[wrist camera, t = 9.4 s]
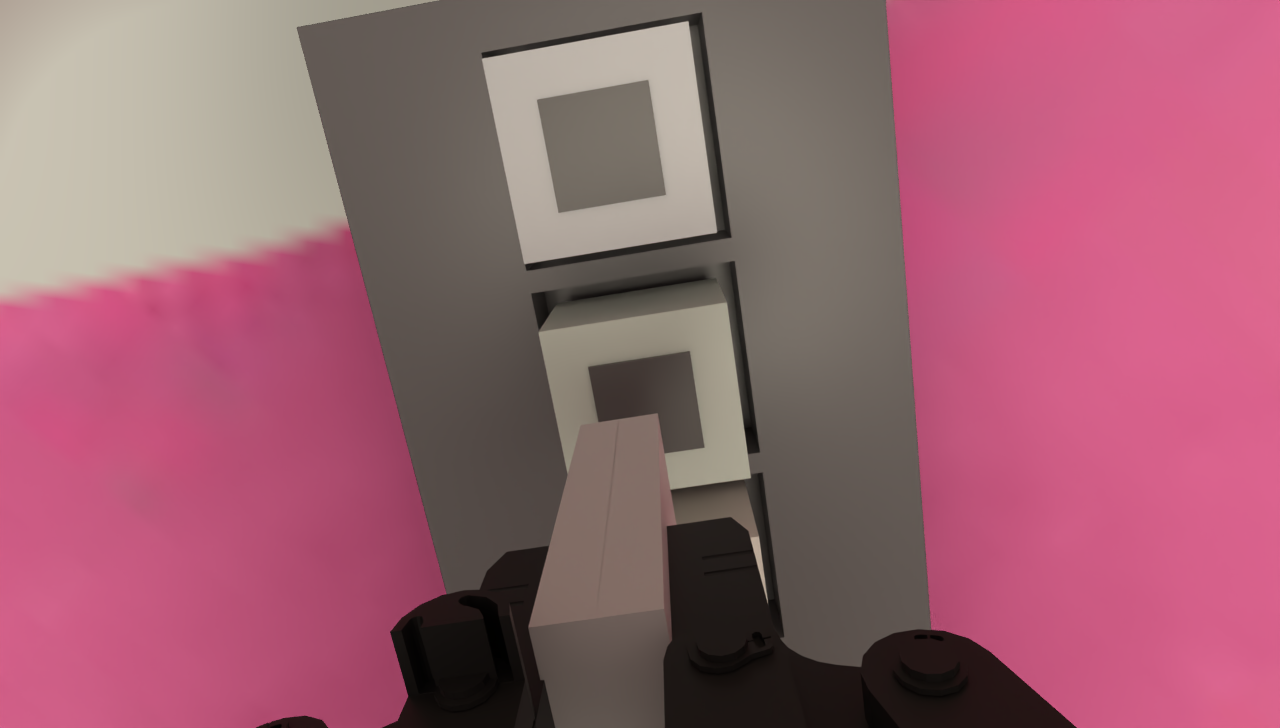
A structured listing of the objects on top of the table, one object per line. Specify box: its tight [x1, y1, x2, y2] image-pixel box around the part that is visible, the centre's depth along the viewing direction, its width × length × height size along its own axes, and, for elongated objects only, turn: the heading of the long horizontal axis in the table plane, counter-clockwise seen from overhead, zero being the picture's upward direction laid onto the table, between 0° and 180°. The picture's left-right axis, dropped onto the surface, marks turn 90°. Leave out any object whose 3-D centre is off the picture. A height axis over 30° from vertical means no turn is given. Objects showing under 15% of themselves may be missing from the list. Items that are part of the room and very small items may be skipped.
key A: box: [538, 278, 751, 489], centre depth 20 cm, size 4×4×4 cm
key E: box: [482, 21, 717, 264], centre depth 18 cm, size 4×4×4 cm
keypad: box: [297, 0, 931, 667], centre depth 23 cm, size 14×26×2 cm, turn 9°
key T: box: [671, 479, 768, 602], centre depth 21 cm, size 4×4×4 cm
